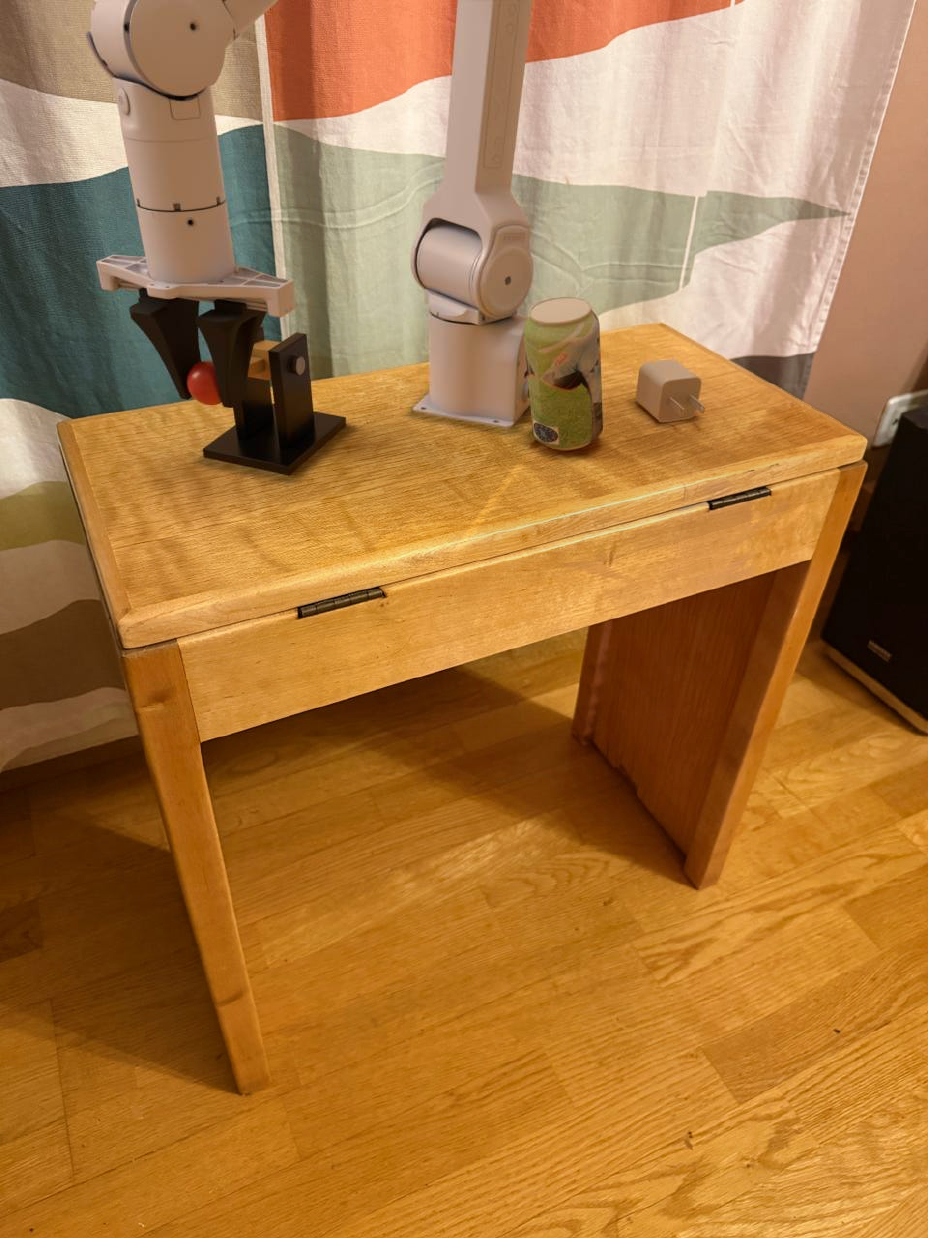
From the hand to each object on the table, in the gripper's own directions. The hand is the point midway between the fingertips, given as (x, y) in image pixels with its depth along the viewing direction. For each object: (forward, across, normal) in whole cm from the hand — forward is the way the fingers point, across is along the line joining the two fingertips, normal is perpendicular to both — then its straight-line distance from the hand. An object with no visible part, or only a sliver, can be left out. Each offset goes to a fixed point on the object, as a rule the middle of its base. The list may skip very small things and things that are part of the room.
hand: (212, 398), depth 68 cm
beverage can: (+8, +22, +18) cm, 29 cm away
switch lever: (+1, 0, +3) cm, 4 cm away
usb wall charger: (+8, +30, +27) cm, 41 cm away
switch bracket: (+7, 0, +8) cm, 11 cm away
